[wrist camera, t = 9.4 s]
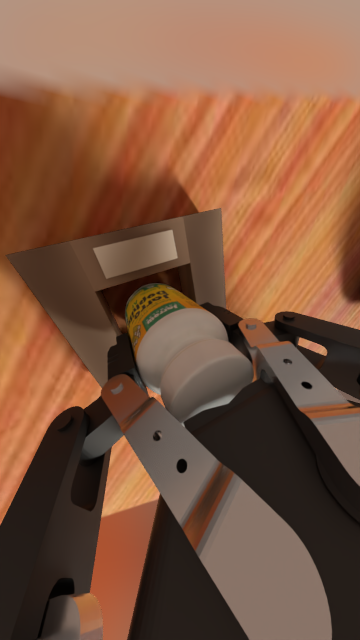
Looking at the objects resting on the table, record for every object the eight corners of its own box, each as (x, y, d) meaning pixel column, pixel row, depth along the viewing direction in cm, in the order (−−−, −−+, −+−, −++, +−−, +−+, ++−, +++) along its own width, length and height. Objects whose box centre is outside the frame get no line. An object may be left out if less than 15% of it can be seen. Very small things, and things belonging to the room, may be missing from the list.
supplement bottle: (157, 345, 16) (207, 448, 8) (109, 318, 13) (114, 439, 5) (192, 305, 16) (282, 371, 8) (151, 267, 13) (228, 311, 5)
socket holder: (200, 213, 14) (223, 207, 11) (213, 333, 20) (229, 347, 18) (29, 251, 10) (3, 255, 8) (111, 378, 17) (111, 403, 14)
